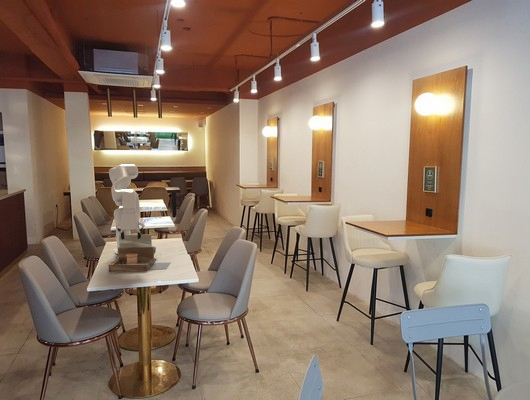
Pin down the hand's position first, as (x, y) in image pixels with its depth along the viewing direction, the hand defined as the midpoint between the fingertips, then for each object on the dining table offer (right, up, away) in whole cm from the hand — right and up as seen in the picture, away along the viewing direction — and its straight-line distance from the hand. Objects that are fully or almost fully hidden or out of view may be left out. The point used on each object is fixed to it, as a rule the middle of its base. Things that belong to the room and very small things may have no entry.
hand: (131, 238), depth 240 cm
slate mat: (+17, -17, +3) cm, 24 cm away
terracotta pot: (0, -17, +2) cm, 18 cm away
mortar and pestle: (+4, -15, +23) cm, 27 cm away
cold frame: (0, -17, +2) cm, 18 cm away
